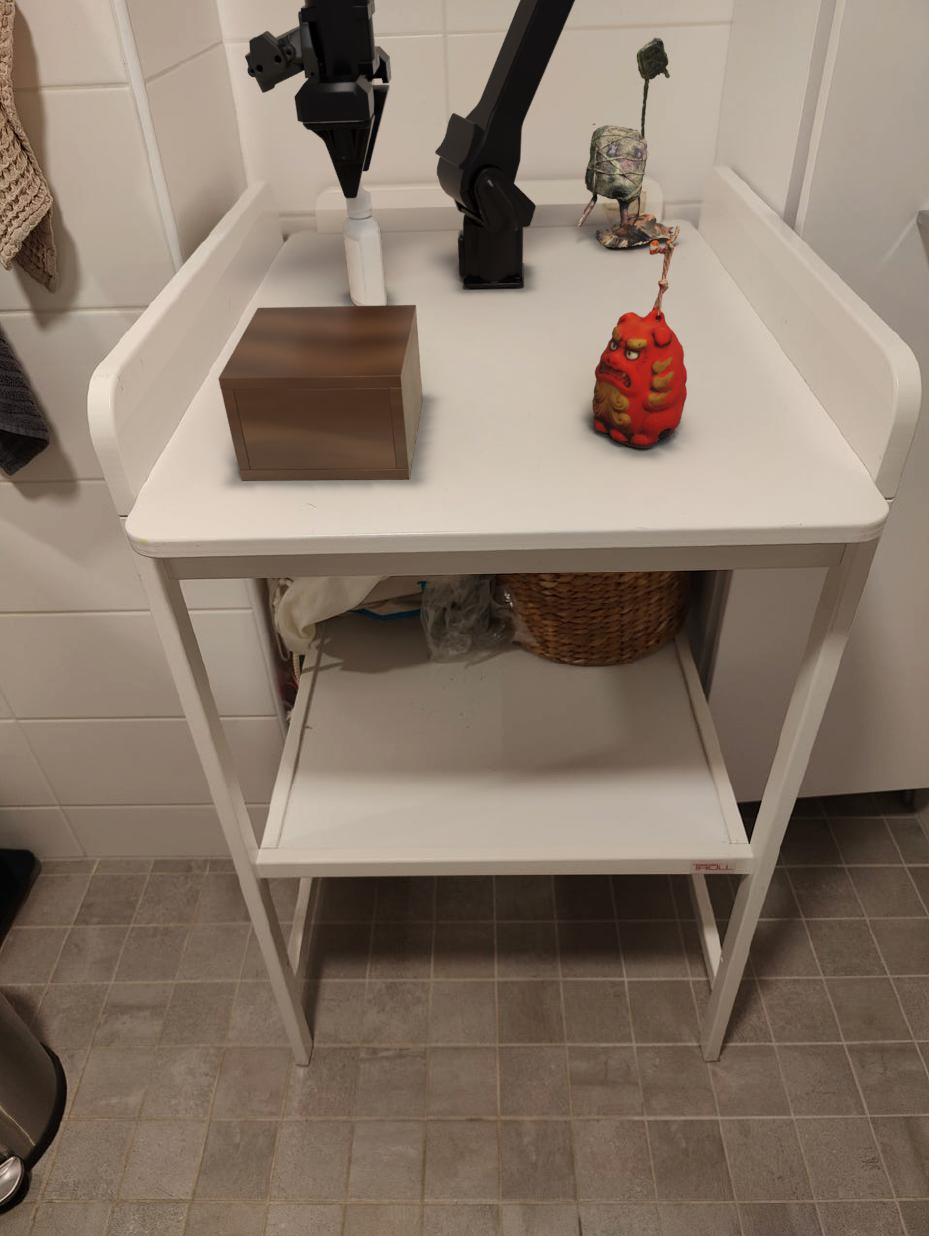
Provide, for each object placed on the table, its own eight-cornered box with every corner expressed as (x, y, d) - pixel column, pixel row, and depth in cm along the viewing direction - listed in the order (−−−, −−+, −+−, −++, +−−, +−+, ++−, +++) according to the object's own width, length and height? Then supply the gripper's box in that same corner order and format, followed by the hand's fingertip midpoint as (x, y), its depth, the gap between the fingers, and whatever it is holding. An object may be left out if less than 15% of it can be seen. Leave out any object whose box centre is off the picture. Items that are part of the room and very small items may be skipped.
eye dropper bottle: (343, 311, 94) (327, 186, 86) (354, 291, 98) (340, 170, 90) (384, 311, 93) (373, 186, 85) (394, 291, 97) (383, 170, 90)
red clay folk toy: (571, 425, 74) (580, 232, 64) (633, 398, 77) (651, 211, 67) (640, 462, 69) (660, 260, 59) (703, 432, 72) (732, 236, 62)
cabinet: (275, 402, 79) (257, 307, 73) (422, 400, 78) (416, 304, 73) (240, 480, 69) (218, 378, 64) (409, 479, 68) (400, 375, 63)
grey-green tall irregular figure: (574, 229, 111) (582, 36, 98) (668, 227, 110) (688, 33, 98) (578, 252, 105) (586, 49, 92) (677, 250, 104) (700, 45, 91)
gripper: (266, -20, 86) (292, 161, 96) (217, 7, 71) (254, 216, 81) (384, -25, 85) (398, 157, 95) (358, 1, 71) (378, 212, 81)
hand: (357, 183), depth 88 cm, fingers open, 9 cm apart
